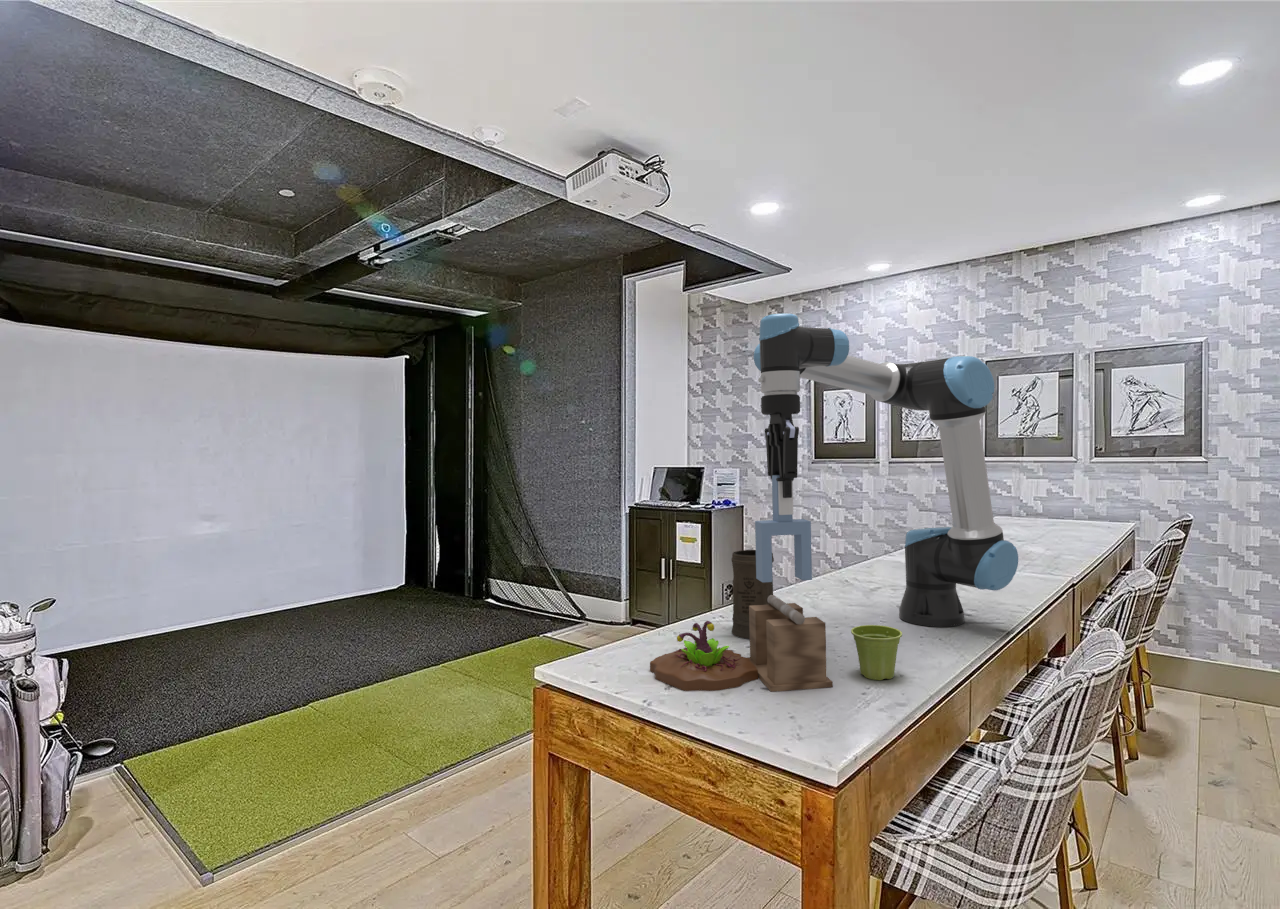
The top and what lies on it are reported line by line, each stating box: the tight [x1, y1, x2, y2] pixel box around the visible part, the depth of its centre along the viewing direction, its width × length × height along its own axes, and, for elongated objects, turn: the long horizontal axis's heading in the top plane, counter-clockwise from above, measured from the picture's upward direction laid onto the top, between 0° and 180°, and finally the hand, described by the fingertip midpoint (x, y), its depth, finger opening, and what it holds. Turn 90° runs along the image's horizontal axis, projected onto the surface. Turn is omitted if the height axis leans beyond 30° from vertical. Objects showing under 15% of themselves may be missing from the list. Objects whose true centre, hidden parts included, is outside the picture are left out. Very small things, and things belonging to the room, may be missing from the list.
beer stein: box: [731, 549, 775, 640], centre depth 166 cm, size 15×11×20 cm
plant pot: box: [850, 624, 903, 681], centre depth 133 cm, size 9×9×9 cm
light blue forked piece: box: [754, 475, 813, 582], centre depth 134 cm, size 10×4×20 cm, turn 97°
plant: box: [649, 620, 759, 692], centre depth 137 cm, size 20×20×11 cm
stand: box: [746, 594, 834, 693], centre depth 135 cm, size 12×17×14 cm
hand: (782, 513), depth 134 cm, fingers closed on light blue forked piece, 3 cm apart
